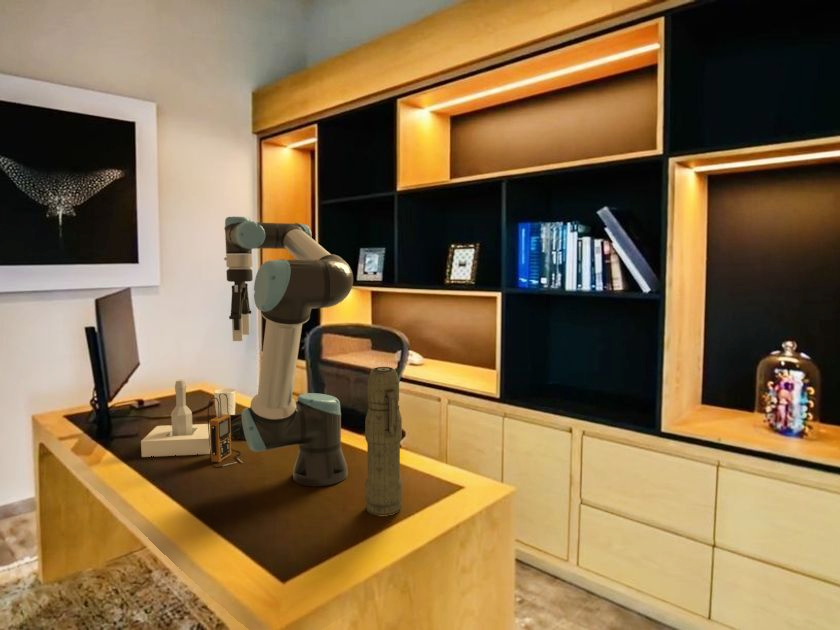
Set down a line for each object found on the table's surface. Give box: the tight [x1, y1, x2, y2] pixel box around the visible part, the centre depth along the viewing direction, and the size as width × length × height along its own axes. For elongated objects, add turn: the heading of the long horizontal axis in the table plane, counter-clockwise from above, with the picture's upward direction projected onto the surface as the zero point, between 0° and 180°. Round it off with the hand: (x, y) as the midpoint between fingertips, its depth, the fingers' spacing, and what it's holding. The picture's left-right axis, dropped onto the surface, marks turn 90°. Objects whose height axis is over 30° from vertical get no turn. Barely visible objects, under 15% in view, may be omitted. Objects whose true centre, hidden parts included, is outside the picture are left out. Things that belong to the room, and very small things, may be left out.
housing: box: [140, 423, 211, 458], centre depth 184 cm, size 16×20×5 cm
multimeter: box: [207, 393, 244, 469], centre depth 172 cm, size 15×10×20 cm
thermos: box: [364, 366, 403, 515], centre depth 138 cm, size 9×12×35 cm
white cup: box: [213, 388, 237, 417], centre depth 219 cm, size 8×8×10 cm
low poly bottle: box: [170, 379, 193, 436], centre depth 183 cm, size 6×6×22 cm
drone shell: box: [230, 413, 246, 440], centre depth 198 cm, size 21×20×8 cm
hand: (241, 337), depth 175 cm, fingers open, 13 cm apart
